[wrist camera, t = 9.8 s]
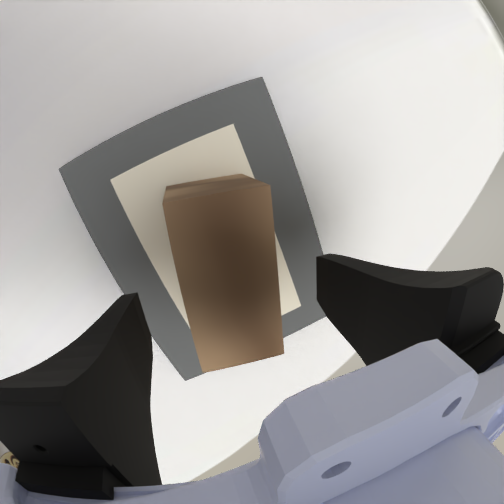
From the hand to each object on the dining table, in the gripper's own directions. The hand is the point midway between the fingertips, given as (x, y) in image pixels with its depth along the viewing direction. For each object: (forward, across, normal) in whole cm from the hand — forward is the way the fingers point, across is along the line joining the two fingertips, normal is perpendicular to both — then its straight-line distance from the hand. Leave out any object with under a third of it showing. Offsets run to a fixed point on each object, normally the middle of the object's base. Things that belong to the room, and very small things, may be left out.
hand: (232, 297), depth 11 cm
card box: (+6, 0, 0) cm, 6 cm away
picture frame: (+6, 0, 0) cm, 6 cm away
